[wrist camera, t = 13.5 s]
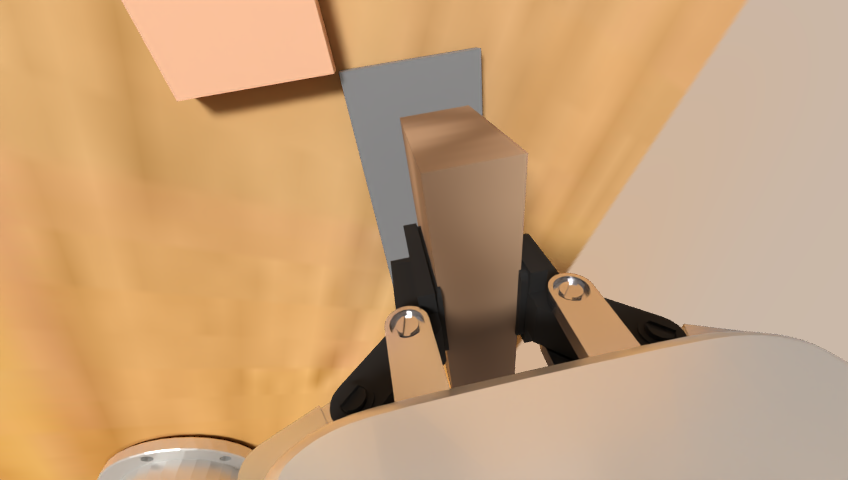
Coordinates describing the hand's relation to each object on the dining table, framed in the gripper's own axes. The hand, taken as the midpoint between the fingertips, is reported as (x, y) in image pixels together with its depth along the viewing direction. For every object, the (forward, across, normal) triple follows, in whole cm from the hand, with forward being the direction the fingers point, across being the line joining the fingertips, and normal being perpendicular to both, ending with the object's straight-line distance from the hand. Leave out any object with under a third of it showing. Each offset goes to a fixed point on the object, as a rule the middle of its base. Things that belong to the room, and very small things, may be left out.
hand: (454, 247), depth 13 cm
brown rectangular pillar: (+2, 0, 0) cm, 2 cm away
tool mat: (+5, 0, 0) cm, 5 cm away
